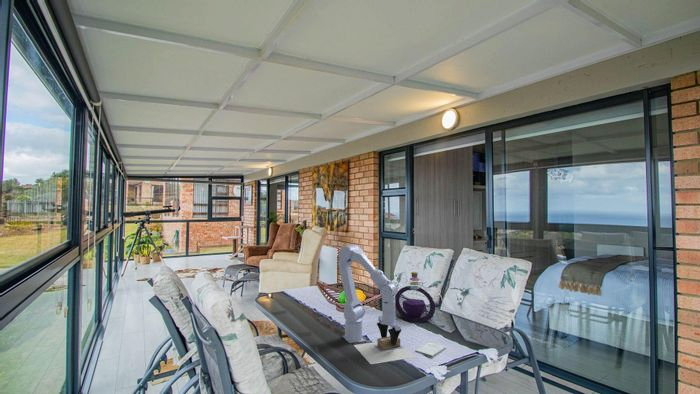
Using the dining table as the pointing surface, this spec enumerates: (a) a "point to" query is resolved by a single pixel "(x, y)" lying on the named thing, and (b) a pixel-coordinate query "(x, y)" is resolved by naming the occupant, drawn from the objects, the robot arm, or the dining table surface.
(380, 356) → the mat
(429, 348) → the external hard drive
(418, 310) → the decorative bottle
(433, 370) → the dining table surface
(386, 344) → the cardboard box
